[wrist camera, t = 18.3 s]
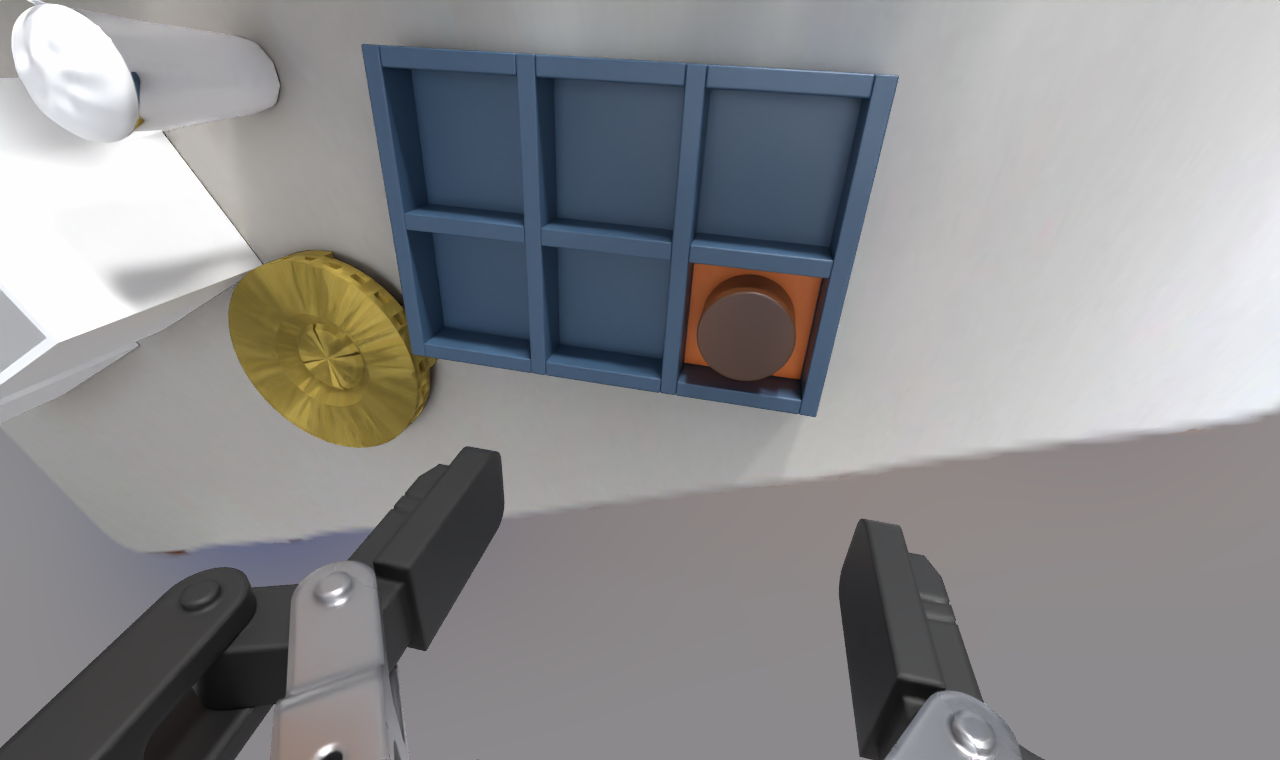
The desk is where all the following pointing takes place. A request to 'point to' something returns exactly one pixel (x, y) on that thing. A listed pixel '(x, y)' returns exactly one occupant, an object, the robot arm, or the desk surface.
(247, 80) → the milkshake
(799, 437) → the desk surface
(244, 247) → the white open box
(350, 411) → the gold notched disc
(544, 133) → the grid
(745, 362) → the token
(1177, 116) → the desk surface
